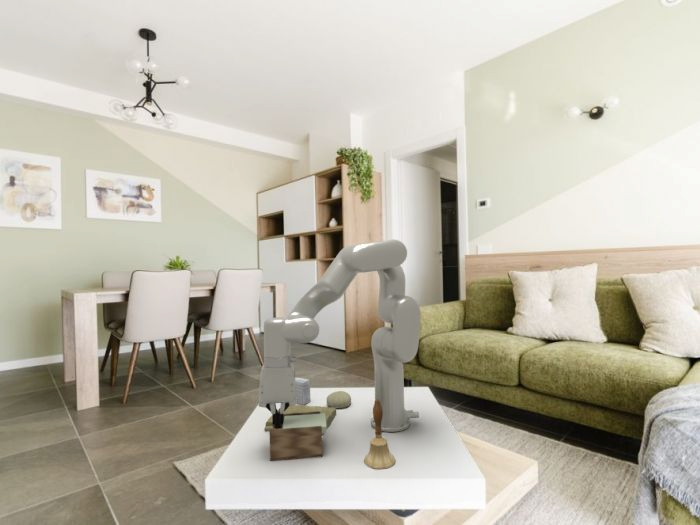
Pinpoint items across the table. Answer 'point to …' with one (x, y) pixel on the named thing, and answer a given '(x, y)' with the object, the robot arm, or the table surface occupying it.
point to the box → (295, 441)
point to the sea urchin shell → (339, 399)
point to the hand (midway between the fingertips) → (278, 426)
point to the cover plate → (305, 421)
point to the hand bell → (379, 444)
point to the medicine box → (302, 391)
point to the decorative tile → (328, 411)
